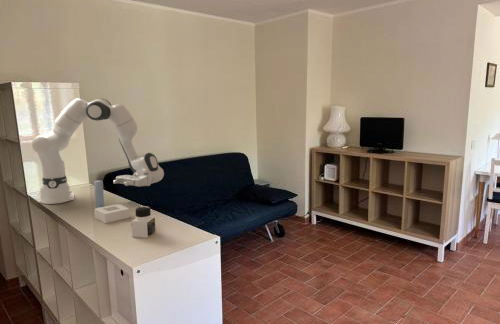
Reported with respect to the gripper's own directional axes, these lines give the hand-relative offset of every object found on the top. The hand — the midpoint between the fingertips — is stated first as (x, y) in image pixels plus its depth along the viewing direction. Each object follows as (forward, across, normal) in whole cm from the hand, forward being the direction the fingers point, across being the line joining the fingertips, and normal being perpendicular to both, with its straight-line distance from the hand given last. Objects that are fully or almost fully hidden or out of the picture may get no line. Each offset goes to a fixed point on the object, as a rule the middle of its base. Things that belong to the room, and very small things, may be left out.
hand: (119, 183), depth 186 cm
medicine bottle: (+23, +44, +13) cm, 52 cm away
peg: (+12, 0, +13) cm, 18 cm away
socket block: (+15, +13, +13) cm, 24 cm away
